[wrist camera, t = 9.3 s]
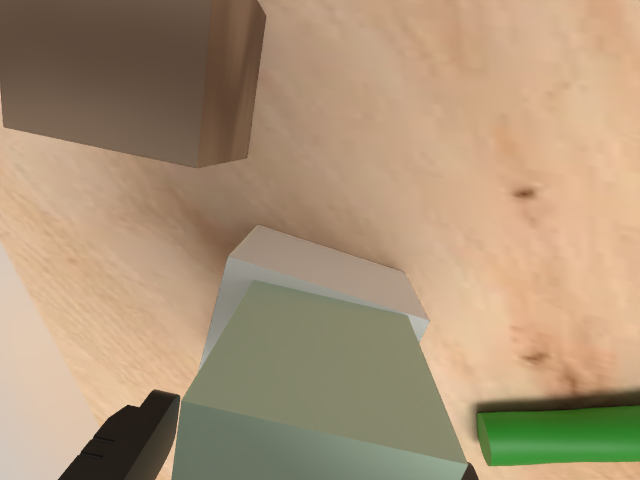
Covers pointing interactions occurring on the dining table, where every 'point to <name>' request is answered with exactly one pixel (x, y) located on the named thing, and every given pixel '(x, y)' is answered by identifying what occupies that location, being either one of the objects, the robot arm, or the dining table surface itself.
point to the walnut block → (134, 74)
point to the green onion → (560, 436)
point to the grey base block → (310, 278)
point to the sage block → (314, 397)
